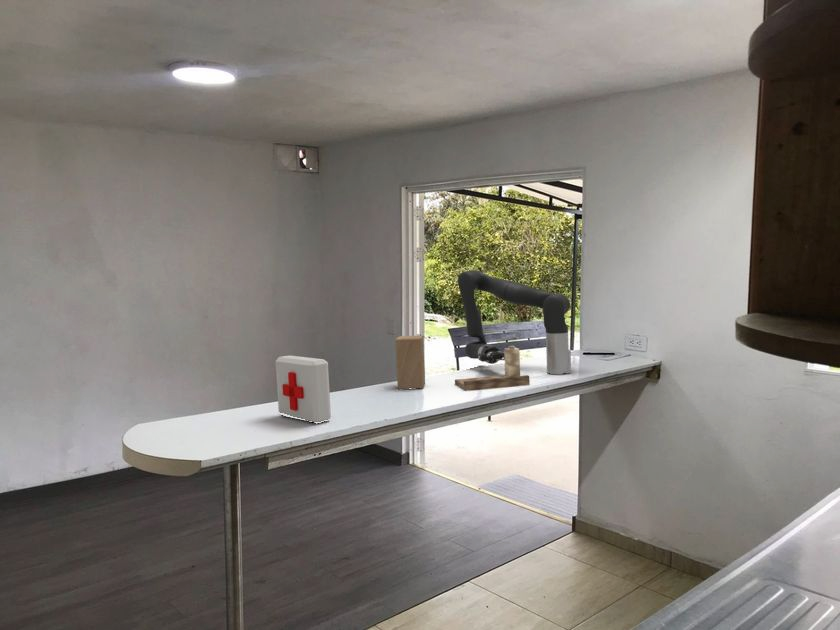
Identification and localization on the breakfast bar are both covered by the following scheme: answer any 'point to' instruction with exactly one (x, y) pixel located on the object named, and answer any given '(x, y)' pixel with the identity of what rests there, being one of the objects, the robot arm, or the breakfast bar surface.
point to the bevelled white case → (303, 388)
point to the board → (488, 386)
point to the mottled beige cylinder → (512, 361)
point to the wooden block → (410, 362)
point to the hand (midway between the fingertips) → (502, 358)
